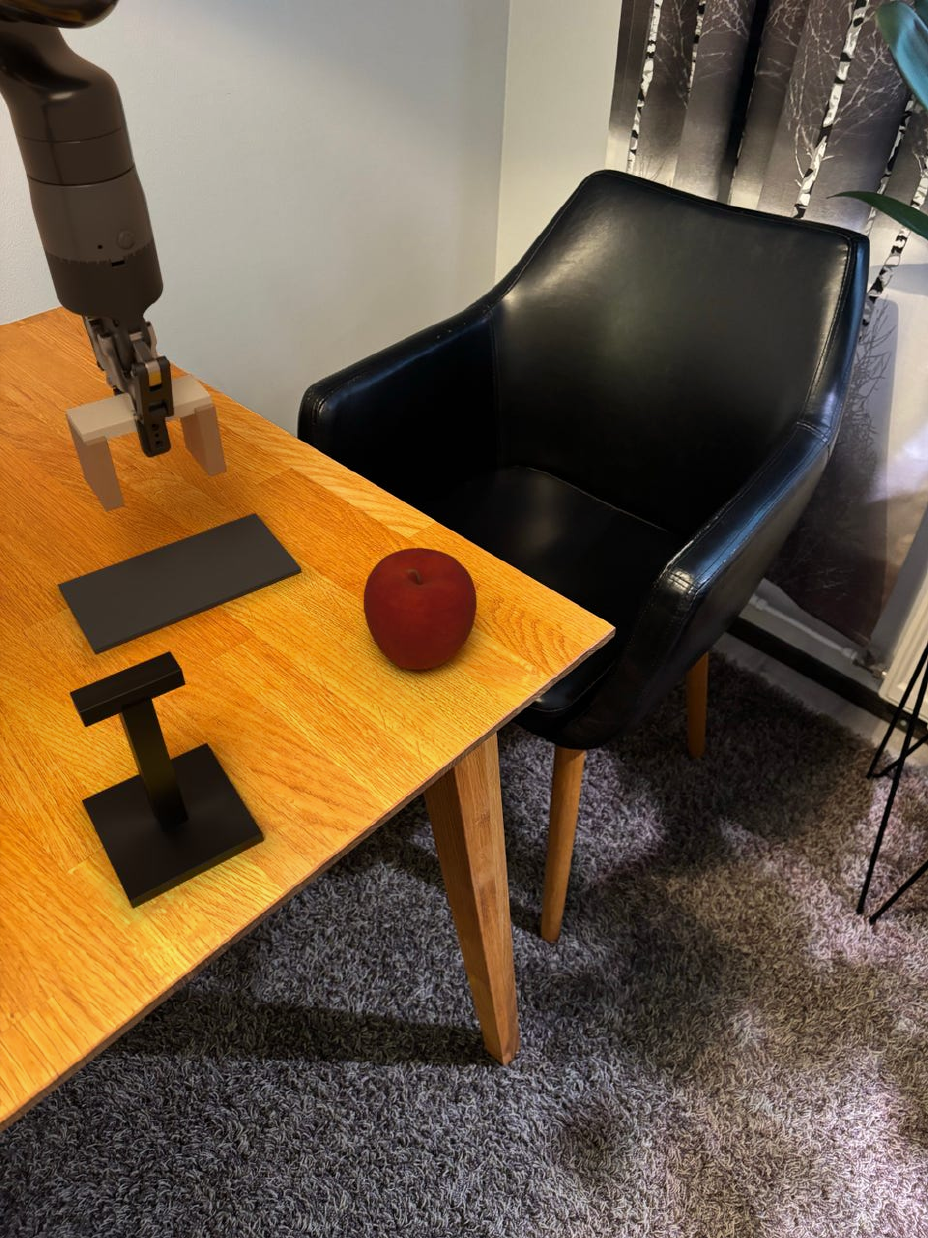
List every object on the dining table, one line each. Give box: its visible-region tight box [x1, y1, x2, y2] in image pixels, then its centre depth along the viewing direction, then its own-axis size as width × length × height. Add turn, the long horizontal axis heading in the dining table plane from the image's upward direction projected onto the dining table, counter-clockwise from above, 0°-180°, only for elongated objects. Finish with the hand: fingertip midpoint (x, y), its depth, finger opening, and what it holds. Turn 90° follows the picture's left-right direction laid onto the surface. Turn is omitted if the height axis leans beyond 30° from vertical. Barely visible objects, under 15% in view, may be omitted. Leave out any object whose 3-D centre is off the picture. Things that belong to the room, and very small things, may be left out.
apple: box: [363, 547, 478, 671], centre depth 82 cm, size 10×10×10 cm
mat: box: [57, 512, 302, 655], centre depth 91 cm, size 20×10×1 cm, turn 124°
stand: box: [69, 650, 265, 909], centre depth 66 cm, size 10×10×16 cm
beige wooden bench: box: [65, 373, 227, 513], centre depth 80 cm, size 11×5×7 cm, turn 124°
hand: (147, 438), depth 80 cm, fingers closed on beige wooden bench, 4 cm apart
